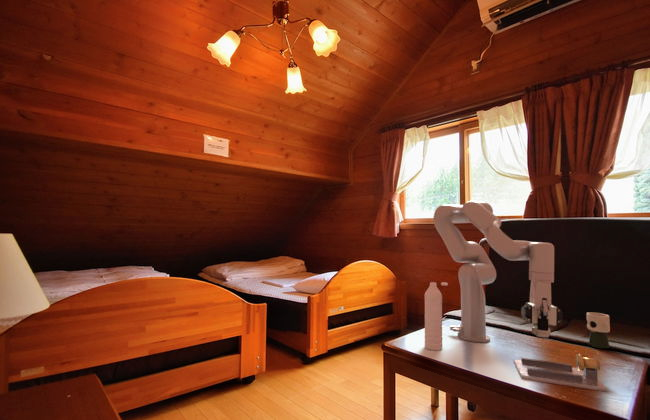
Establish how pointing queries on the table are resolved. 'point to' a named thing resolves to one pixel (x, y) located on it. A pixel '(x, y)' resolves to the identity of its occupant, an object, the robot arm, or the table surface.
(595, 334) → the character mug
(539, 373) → the manifold plate
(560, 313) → the pneumatic valve
